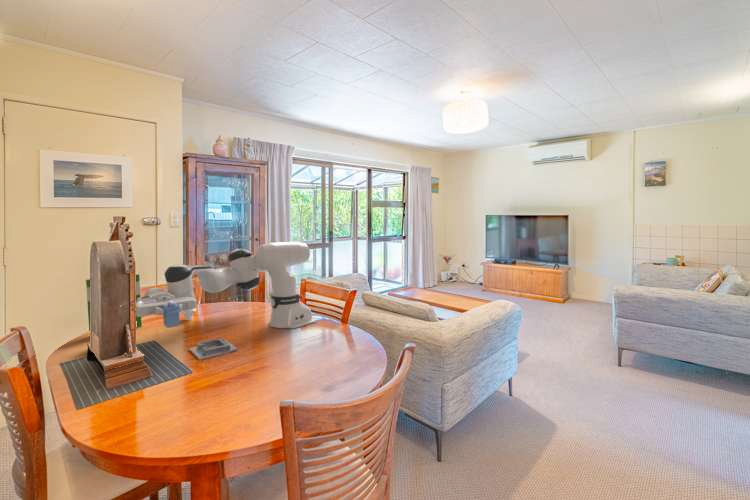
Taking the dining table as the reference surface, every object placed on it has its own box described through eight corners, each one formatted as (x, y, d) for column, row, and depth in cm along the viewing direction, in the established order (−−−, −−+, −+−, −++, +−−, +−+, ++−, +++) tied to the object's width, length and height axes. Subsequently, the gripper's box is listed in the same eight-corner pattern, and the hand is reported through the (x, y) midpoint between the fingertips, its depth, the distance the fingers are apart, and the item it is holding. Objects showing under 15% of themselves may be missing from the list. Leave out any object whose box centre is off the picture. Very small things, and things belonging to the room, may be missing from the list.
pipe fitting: (188, 322, 177) (188, 305, 176) (177, 320, 179) (177, 304, 179) (199, 318, 183) (198, 302, 182) (188, 316, 185) (187, 301, 184)
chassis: (226, 342, 151) (226, 336, 151) (237, 350, 142) (237, 344, 142) (189, 350, 142) (189, 343, 141) (198, 359, 133) (198, 353, 132)
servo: (174, 321, 140) (173, 297, 139) (180, 326, 134) (179, 302, 133) (162, 323, 138) (161, 299, 137) (168, 328, 131) (167, 303, 130)
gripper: (191, 307, 152) (202, 314, 142) (132, 315, 139) (139, 324, 128) (191, 291, 151) (201, 298, 141) (131, 299, 138) (138, 306, 128)
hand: (171, 310), depth 135 cm, fingers closed on servo, 4 cm apart
